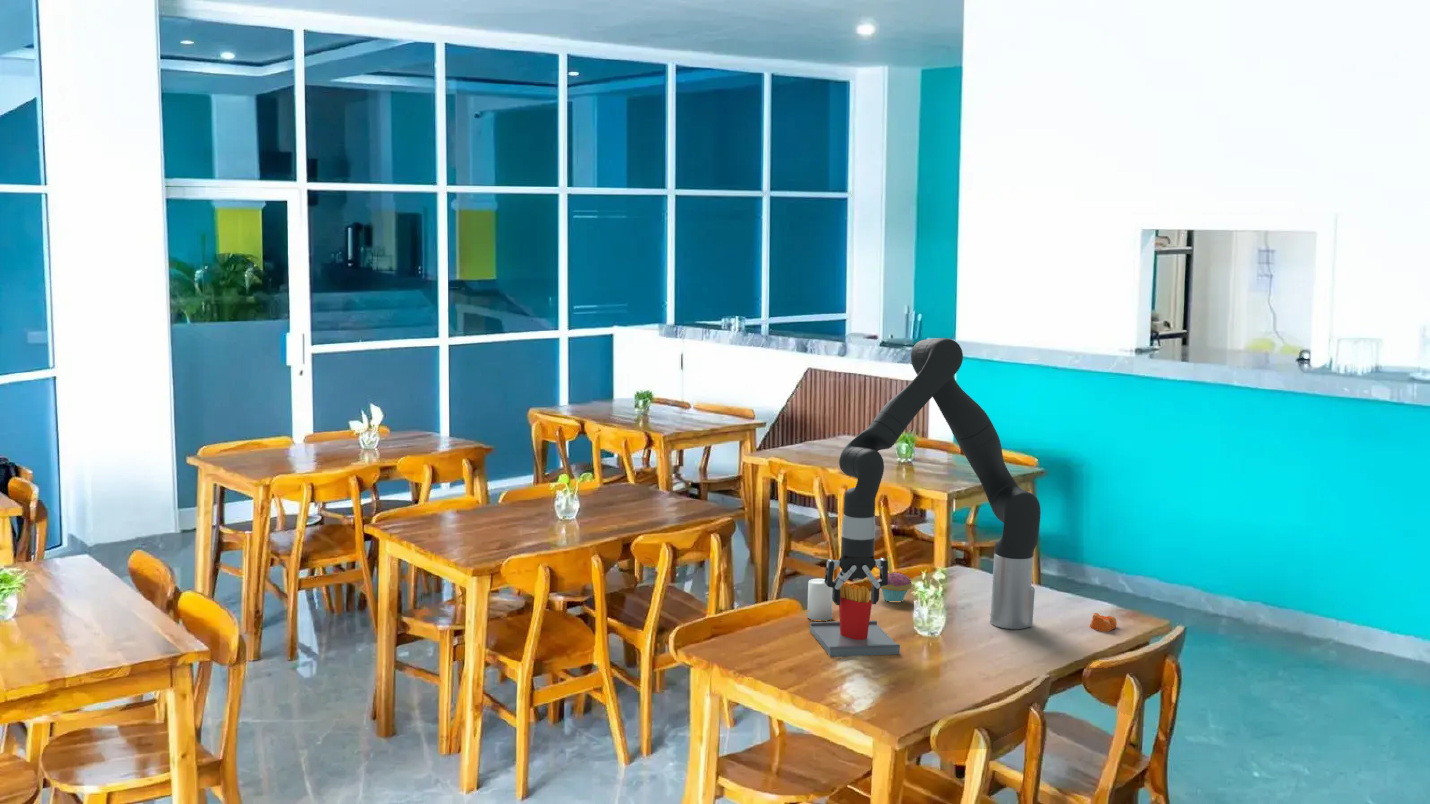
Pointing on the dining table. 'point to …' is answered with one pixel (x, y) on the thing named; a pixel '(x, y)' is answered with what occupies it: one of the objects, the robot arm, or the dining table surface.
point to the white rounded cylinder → (819, 600)
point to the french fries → (854, 611)
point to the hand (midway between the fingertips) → (855, 603)
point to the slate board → (853, 640)
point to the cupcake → (895, 585)
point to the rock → (1103, 623)
